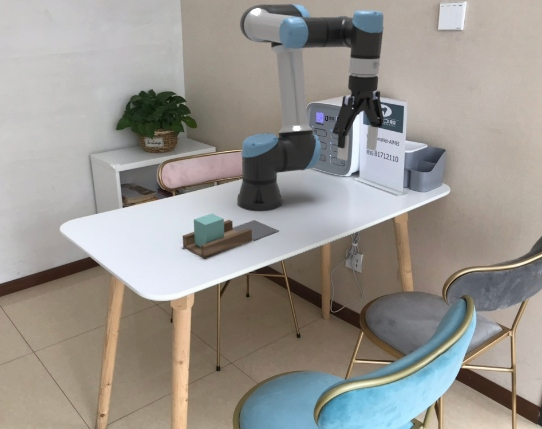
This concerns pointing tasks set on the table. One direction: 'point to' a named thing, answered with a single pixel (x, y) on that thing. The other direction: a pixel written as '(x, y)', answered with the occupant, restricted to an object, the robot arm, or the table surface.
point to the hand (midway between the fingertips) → (357, 154)
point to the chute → (218, 241)
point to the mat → (256, 229)
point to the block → (208, 229)
